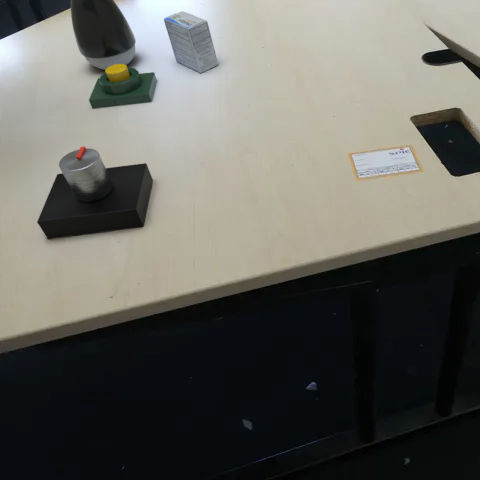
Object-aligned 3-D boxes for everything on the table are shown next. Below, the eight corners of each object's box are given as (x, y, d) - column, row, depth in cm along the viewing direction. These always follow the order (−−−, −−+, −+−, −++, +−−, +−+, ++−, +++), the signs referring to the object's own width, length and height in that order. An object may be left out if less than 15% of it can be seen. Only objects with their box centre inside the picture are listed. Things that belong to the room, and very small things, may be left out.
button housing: (92, 109, 91) (84, 90, 89) (101, 86, 97) (93, 68, 95) (151, 102, 92) (145, 83, 90) (157, 80, 98) (151, 62, 95)
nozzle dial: (109, 200, 68) (92, 166, 64) (70, 204, 68) (52, 170, 64) (117, 177, 72) (102, 144, 68) (80, 181, 71) (63, 148, 68)
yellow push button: (107, 84, 91) (103, 74, 90) (110, 74, 94) (107, 65, 92) (128, 81, 91) (125, 72, 90) (131, 72, 94) (128, 62, 93)
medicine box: (219, 65, 101) (208, 19, 95) (200, 74, 99) (187, 28, 93) (194, 54, 105) (182, 9, 99) (175, 62, 103) (162, 17, 97)
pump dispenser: (121, 79, 99) (88, -6, 88) (76, 72, 101) (39, -11, 91) (153, 55, 106) (126, -26, 95) (110, 49, 108) (79, -30, 98)
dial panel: (47, 239, 68) (36, 221, 66) (66, 190, 75) (57, 173, 73) (143, 226, 69) (135, 209, 67) (153, 180, 76) (146, 163, 74)
